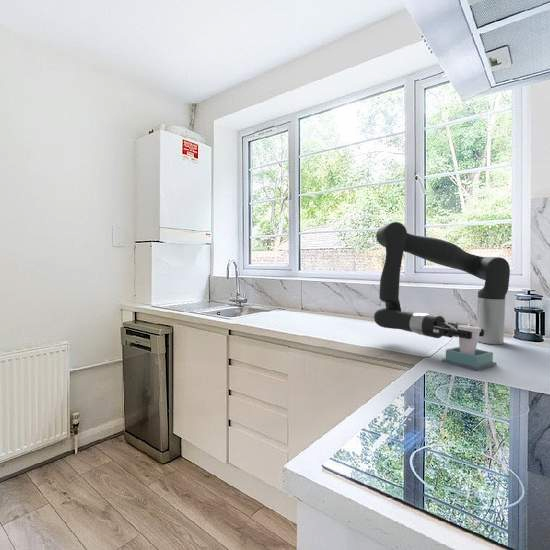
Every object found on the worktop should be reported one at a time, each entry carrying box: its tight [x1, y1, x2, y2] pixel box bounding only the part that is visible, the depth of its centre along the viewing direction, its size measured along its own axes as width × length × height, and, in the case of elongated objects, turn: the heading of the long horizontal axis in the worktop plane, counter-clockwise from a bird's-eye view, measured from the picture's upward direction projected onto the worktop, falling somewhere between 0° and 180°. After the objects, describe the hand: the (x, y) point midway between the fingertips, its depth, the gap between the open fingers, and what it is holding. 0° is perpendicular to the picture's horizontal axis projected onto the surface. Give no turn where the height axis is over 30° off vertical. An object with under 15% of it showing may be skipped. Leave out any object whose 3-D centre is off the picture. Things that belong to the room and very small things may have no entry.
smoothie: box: [457, 311, 481, 355], centre depth 107 cm, size 6×6×14 cm
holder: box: [441, 346, 497, 372], centre depth 108 cm, size 11×11×4 cm
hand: (477, 334), depth 105 cm, fingers open, 6 cm apart
